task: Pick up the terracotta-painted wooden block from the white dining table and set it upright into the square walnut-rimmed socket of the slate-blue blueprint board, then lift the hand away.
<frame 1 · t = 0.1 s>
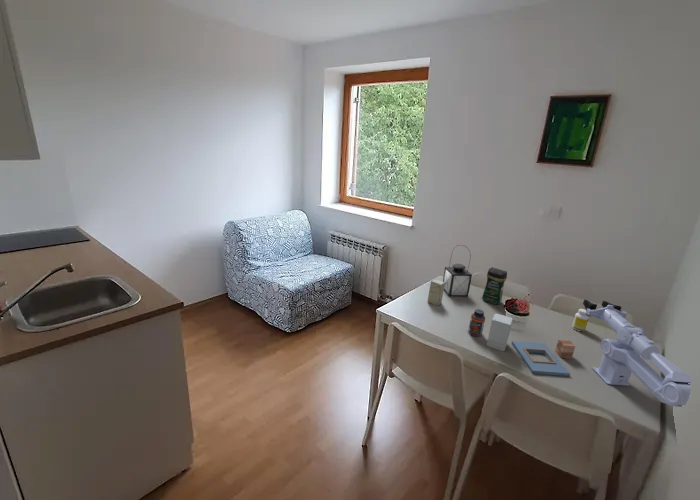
hand: (593, 302, 147), 22 cm above the table, tool horizontal, fingers open, 7 cm apart
supplement box: (496, 345, 152), on the table
skincare box: (434, 303, 186), on the table
coffee jar: (491, 301, 192), on the table
supplement bottle 2: (474, 333, 160), on the table
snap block: (563, 355, 147), on the table
blueprint board: (538, 358, 144), on the table
supplement bottle: (578, 329, 169), on the table
lantern: (454, 292, 200), on the table
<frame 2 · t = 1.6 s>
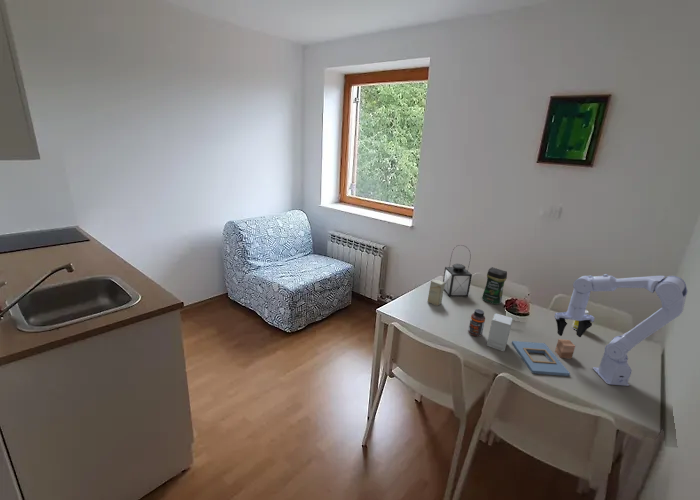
hand: (568, 335, 144), 9 cm above the table, tool pointing down, fingers open, 7 cm apart
nothing on the table moved.
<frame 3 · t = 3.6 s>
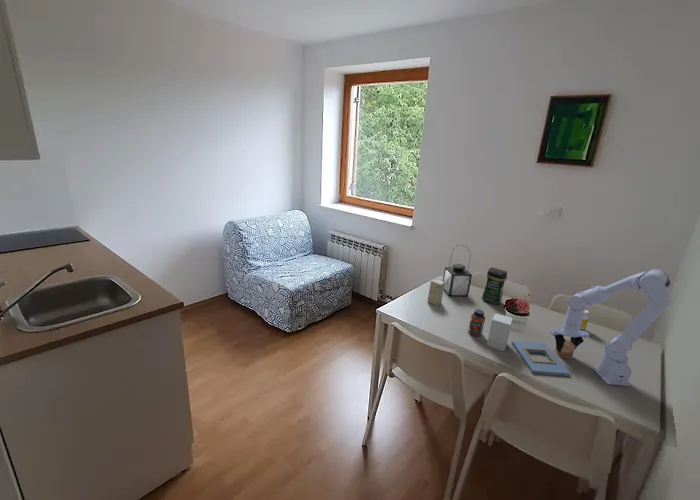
hand: (564, 350, 147), 2 cm above the table, tool pointing down, fingers closed on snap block, 4 cm apart
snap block: (563, 354, 147), on the table, touching gripper
everything else where it was.
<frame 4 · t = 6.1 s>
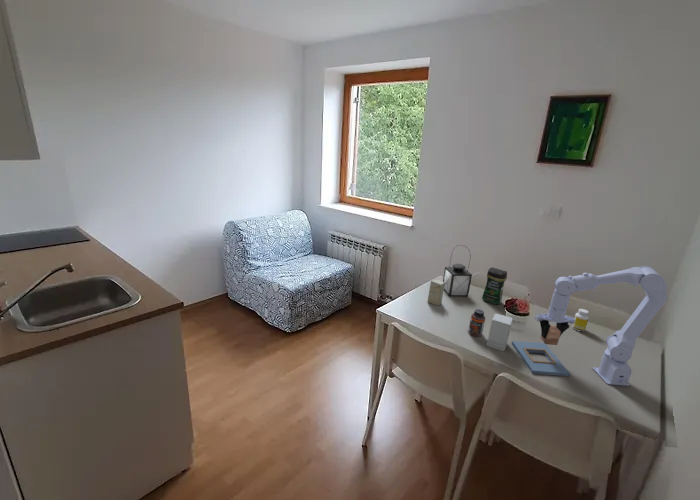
hand: (549, 337, 142), 9 cm above the table, tool pointing down, fingers closed on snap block, 4 cm apart
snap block: (548, 341, 142), point 8 cm above the table, touching gripper
everything else where it was.
when the fingers open (3 cm above the table, at t = 8.8 s): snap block drops 1 cm, resting in blueprint board.
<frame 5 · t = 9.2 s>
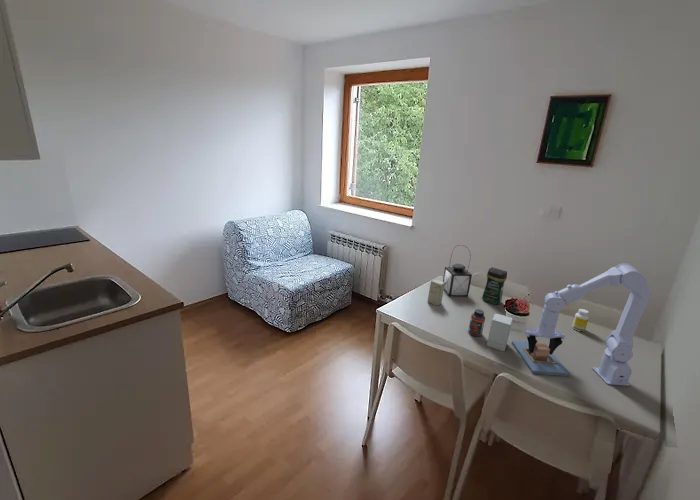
hand: (540, 352, 143), 3 cm above the table, tool pointing down, fingers open, 7 cm apart
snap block: (538, 358, 144), resting in blueprint board
everything else where it was.
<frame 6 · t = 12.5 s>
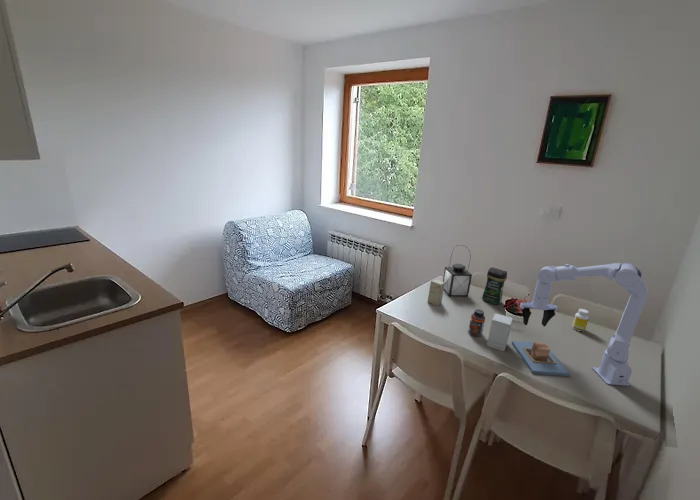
hand: (534, 324, 149), 10 cm above the table, tool pointing down, fingers open, 7 cm apart
nothing on the table moved.
at the end: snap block 0.1 cm off-centre on the blueprint board, point 0.0 cm above the blueprint board's base; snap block tilted 0°; the gripper is holding nothing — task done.
